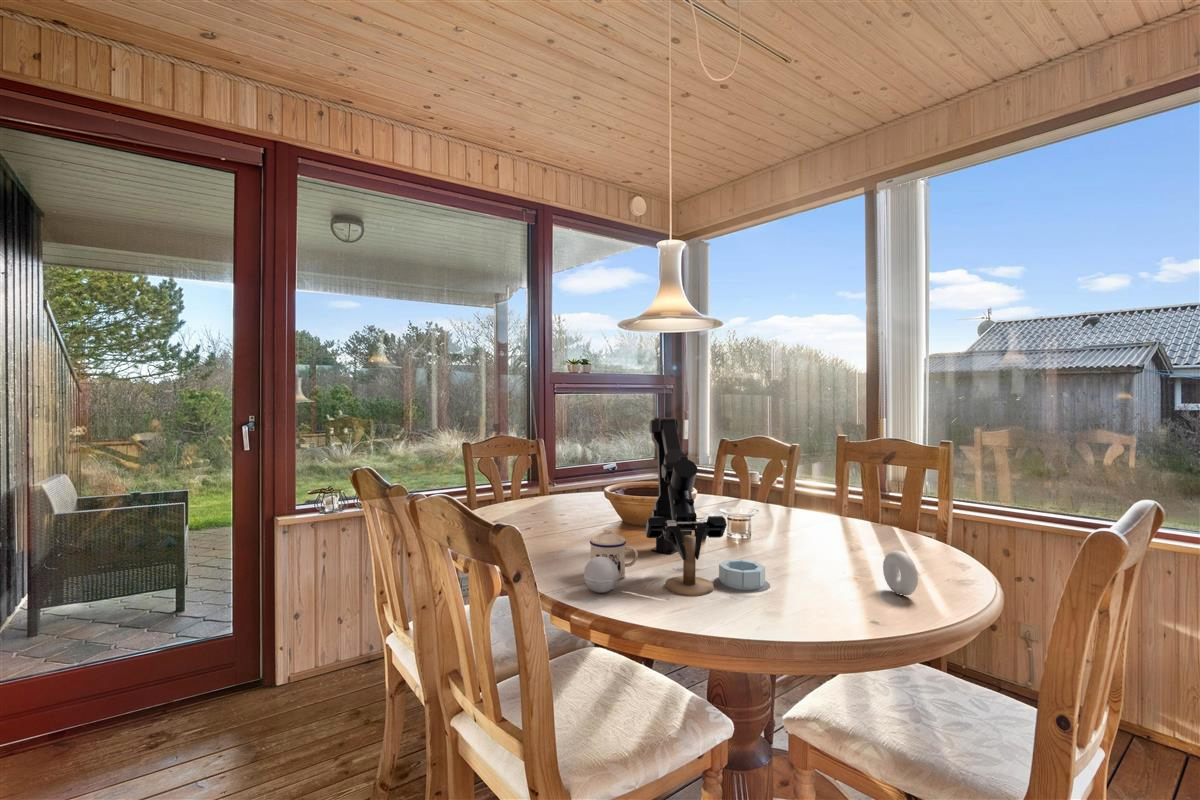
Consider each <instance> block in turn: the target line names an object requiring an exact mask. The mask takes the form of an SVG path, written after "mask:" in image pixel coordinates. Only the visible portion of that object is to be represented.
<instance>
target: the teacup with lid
mask: <svg viewBox="0 0 1200 800" xmlns="http://www.w3.org/2000/svg"><path fill="white" fill-rule="evenodd" d="M589 543H590V560H591V559H593V558H595V557H599V556H603V557H607V558H609V559H611V560H612V561H613V562H614V563H615V564H616V566H617V568H618V574H619V575H618V580H621V579H623V578H624V577H625V575H626V568H628V567H632V566H633V565H635V564H636V562H637V561H638V556H639V555H638V551H637V549H636V548H635V547H633V546H629V545H628V546H627V545H626V544H627V541H626V538H625V537H623V536H621V535H618V534H617V533H615V532H613V530H612V528H608V527H607V528H604V529H603V532H601V533H599V534H597V535H594V536H592V537H591V538H590V540H589ZM626 551H632V552H633V553H634V558H633V560H632V561H630V562H629V563H626Z"/></svg>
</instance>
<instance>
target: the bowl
mask: <svg viewBox="0 0 1200 800" xmlns="http://www.w3.org/2000/svg"><path fill="white" fill-rule="evenodd" d="M718 577H719V579H720V582H721V584H722V585H724V586H726V587H728V588H732V589H737V590H757V589H760V588H762V587H763V586H764V582H765V581H766V567H765V566H764V565H763V564H761V563H759V562H757V561H753V560H746V559H726V560H723V561H722V562H720V563H718Z"/></svg>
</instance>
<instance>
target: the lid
mask: <svg viewBox="0 0 1200 800" xmlns="http://www.w3.org/2000/svg"><path fill="white" fill-rule="evenodd" d="M683 546H684V551H685V560H683V559H682V560H683V561H682V562H683V565H682V566H683V568H682V572H683V574H682V576H681V575H680V576H679V575H678V576H673V577H670V578H668V579H667V580H665V589H666V590H667V591H669V592H670V593H672V594H675V595H679V596H685V597H686V596H687V597H699V596H705V595H709V594H711V593H713V592H714V583H713V582H712V581H710V580H708V579H705V578H703V577H699V576H696V566H697V565H696V563H697V562H696V561H697V560H696V536H694V535H693V534H692V535H684V538H683Z"/></svg>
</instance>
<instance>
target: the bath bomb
mask: <svg viewBox="0 0 1200 800" xmlns="http://www.w3.org/2000/svg"><path fill="white" fill-rule="evenodd" d="M618 575H619V574H618V568H617V566H616V564H615V563H614V562H613V561H612V560H611V559H609V558H607V557H603V556H599V557H595V558H593V559H591V558H590V560H589V561H588V562H587V563H586V565H585V567H584V570H583V578H584V579H583V580H584V582H585V584H586V587H588V588H589V589H590V590H591V591H593V592H595V593H598V594H599V593H600V594H604V593H607V592H609V591H611V590H612V589H614V588H615V587H616V585H617V583H618V580H619V579H618Z"/></svg>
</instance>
